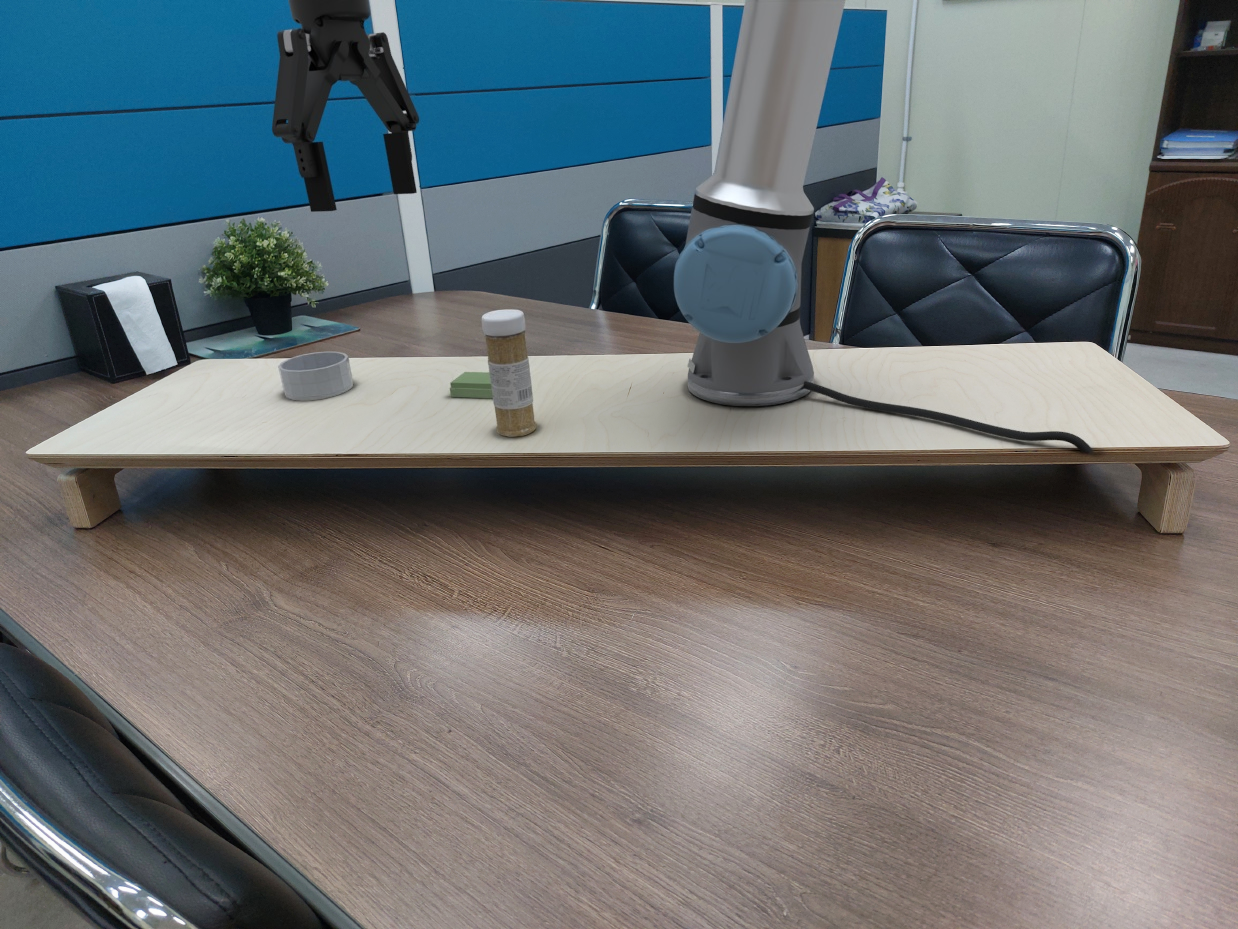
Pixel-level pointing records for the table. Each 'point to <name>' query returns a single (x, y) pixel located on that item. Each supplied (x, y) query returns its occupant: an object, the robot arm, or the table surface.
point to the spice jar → (509, 371)
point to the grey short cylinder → (316, 375)
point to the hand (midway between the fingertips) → (367, 202)
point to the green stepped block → (472, 385)
